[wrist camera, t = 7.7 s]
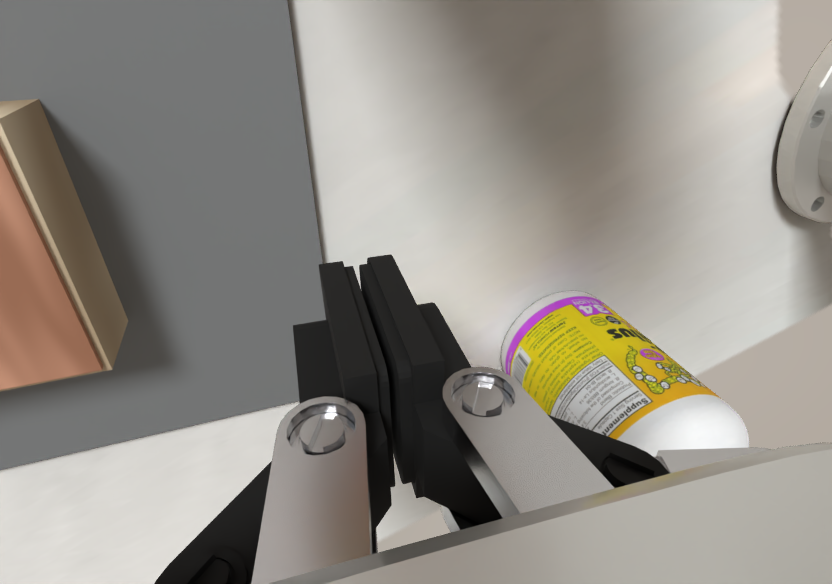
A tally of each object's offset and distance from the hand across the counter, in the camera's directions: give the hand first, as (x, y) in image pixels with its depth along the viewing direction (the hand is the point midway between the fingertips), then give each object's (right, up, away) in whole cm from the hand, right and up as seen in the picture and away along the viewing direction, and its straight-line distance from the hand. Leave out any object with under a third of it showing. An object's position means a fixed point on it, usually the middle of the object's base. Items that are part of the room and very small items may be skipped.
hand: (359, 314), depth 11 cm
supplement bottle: (+9, -2, +16) cm, 18 cm away
